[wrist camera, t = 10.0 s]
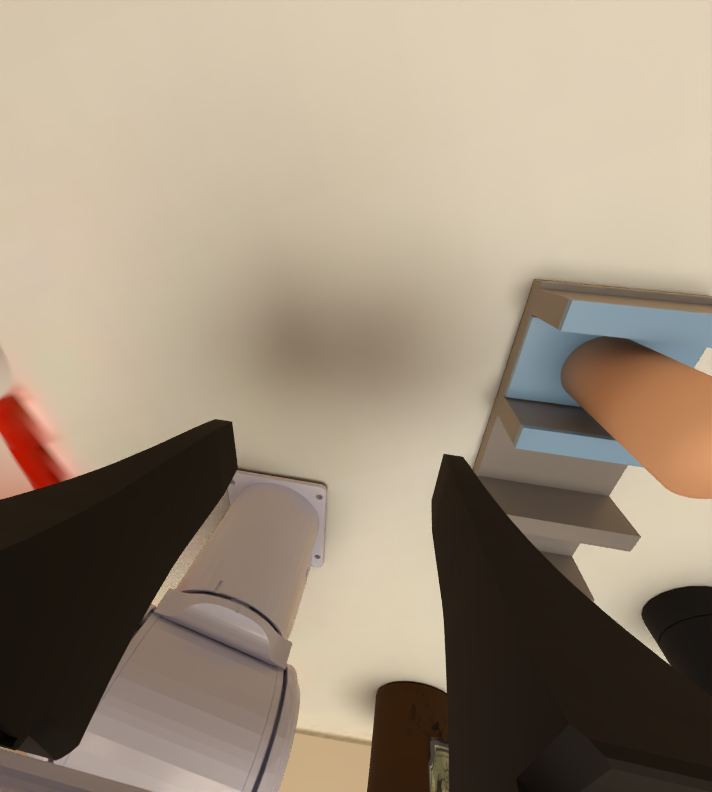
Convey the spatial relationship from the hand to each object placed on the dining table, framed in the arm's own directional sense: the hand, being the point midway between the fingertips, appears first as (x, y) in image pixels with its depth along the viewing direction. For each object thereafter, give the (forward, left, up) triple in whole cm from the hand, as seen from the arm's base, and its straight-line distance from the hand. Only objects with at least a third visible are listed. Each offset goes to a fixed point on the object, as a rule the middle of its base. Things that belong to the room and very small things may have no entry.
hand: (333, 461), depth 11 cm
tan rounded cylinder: (+2, -12, -8) cm, 15 cm away
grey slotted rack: (-4, -12, -9) cm, 16 cm away
